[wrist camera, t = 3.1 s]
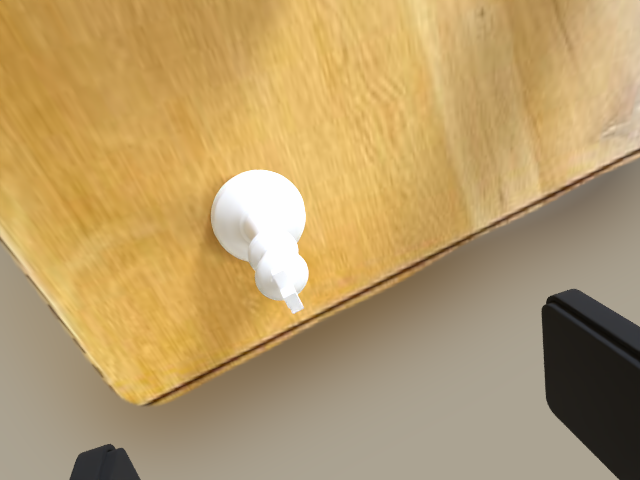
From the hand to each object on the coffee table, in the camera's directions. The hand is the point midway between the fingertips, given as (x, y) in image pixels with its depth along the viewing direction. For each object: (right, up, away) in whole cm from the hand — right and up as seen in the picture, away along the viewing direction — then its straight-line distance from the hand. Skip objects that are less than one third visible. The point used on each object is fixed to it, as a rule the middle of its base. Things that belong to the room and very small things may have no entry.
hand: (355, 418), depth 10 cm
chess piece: (-4, +5, +15) cm, 16 cm away
